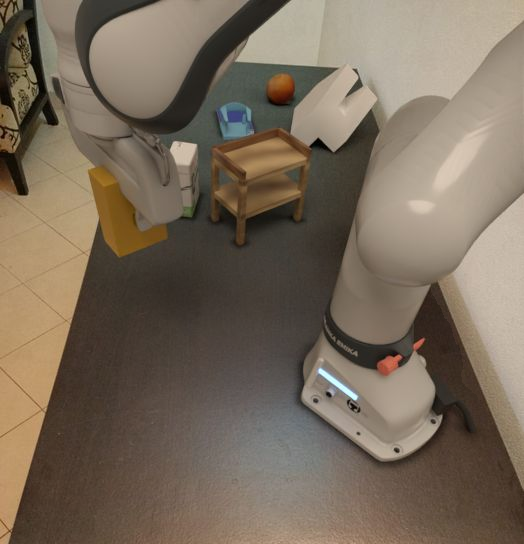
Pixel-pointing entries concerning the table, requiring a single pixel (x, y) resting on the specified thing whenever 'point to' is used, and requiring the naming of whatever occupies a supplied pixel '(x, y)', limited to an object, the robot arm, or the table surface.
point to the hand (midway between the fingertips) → (132, 216)
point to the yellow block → (119, 216)
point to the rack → (258, 175)
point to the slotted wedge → (332, 110)
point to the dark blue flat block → (234, 118)
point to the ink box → (187, 174)
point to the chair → (235, 129)
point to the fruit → (280, 89)
